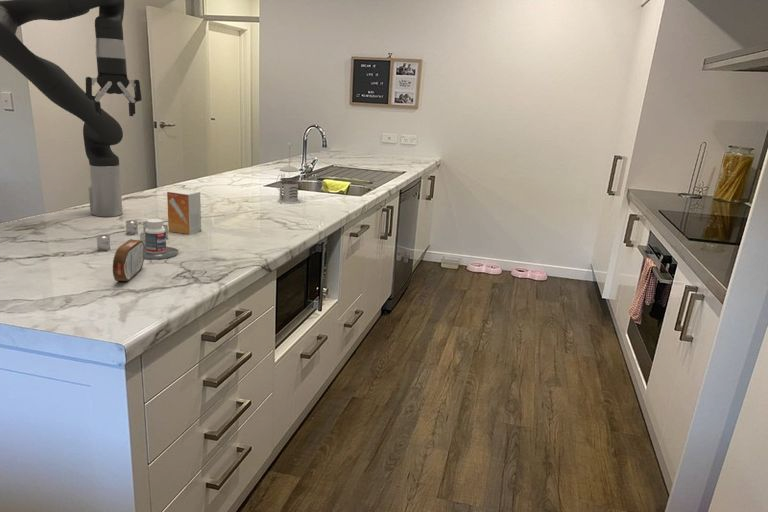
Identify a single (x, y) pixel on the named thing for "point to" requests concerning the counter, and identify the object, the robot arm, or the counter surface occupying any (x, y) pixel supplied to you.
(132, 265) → the tin
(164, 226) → the cylinder
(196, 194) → the small box
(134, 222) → the cylinder
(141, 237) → the cylinder
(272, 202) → the counter surface
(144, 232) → the cylinder
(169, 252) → the coaster
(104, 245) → the spacer near
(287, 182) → the french press
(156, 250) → the pill bottle
